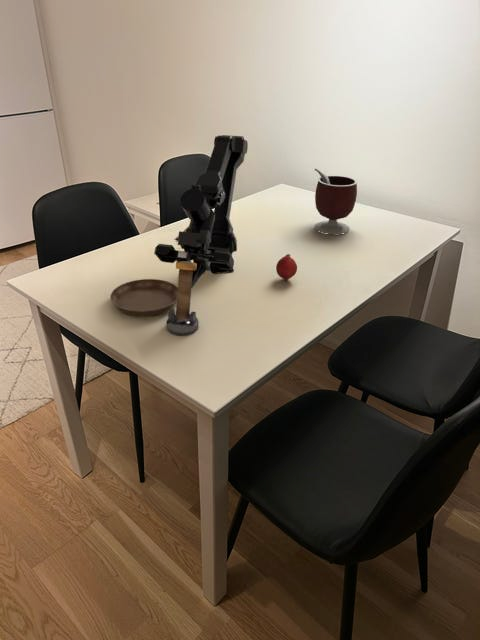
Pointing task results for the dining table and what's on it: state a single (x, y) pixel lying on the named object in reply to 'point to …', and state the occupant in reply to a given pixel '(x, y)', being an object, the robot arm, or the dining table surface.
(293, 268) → the onion
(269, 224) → the dining table surface
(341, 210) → the mate gourd
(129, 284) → the plant saucer
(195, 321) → the tribrach base
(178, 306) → the brown capped cylinder
